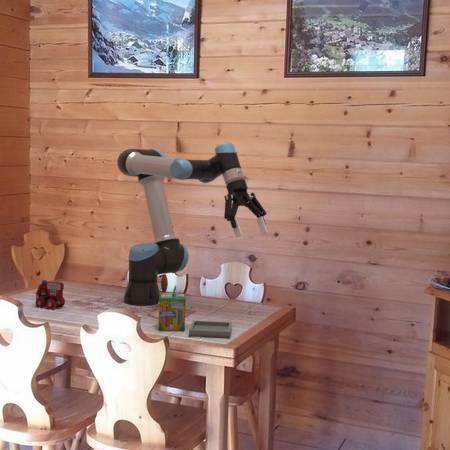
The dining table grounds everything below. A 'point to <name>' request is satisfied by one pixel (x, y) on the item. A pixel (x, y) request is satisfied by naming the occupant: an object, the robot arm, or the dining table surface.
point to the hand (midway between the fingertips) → (252, 235)
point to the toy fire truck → (50, 294)
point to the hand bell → (164, 287)
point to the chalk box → (172, 311)
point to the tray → (210, 329)
